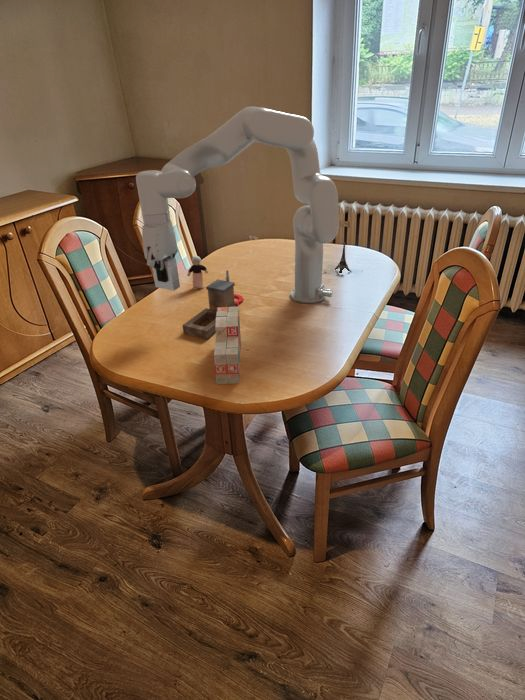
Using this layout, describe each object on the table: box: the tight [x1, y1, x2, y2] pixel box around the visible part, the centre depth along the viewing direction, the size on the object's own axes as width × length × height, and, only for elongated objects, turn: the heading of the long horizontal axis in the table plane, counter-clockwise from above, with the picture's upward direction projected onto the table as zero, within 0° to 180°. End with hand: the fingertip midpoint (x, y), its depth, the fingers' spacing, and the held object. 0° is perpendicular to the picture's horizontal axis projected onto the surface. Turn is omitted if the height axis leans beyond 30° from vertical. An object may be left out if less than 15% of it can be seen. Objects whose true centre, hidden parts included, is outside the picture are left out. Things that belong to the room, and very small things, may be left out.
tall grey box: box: [151, 257, 181, 292], centre depth 137 cm, size 3×7×9 cm, turn 62°
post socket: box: [182, 278, 236, 341], centre depth 146 cm, size 9×19×11 cm, turn 152°
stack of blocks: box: [213, 306, 242, 385], centre depth 125 cm, size 21×6×12 cm, turn 1°
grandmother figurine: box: [186, 255, 209, 291], centre depth 170 cm, size 8×4×13 cm, turn 117°
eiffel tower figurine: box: [334, 240, 351, 273], centre depth 180 cm, size 15×10×13 cm
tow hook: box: [225, 270, 244, 307], centre depth 159 cm, size 8×13×9 cm
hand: (166, 278), depth 138 cm, fingers closed on tall grey box, 3 cm apart
